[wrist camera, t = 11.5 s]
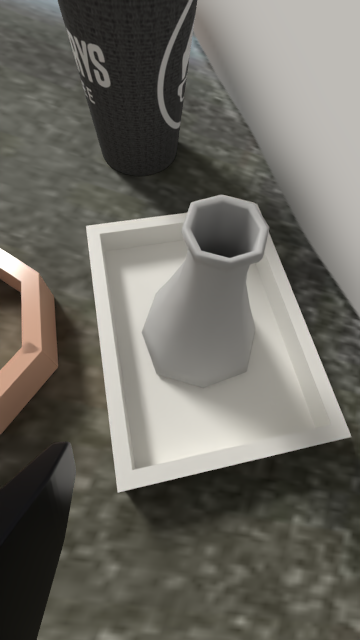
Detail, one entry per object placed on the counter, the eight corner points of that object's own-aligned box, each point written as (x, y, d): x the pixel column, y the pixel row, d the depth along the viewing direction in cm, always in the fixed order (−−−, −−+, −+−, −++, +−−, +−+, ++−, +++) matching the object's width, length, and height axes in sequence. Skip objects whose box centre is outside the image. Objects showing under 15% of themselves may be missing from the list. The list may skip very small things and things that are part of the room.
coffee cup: (132, 101, 31) (108, -185, 17) (214, 144, 29) (260, -141, 15) (60, 154, 28) (-40, -151, 14) (148, 207, 26) (131, -88, 12)
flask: (262, 387, 19) (349, 316, 10) (141, 390, 19) (121, 320, 10) (247, 283, 22) (304, 157, 13) (142, 284, 22) (127, 155, 13)
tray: (329, 440, 19) (351, 436, 17) (123, 489, 17) (117, 492, 15) (248, 227, 25) (257, 203, 23) (93, 249, 24) (86, 225, 21)
